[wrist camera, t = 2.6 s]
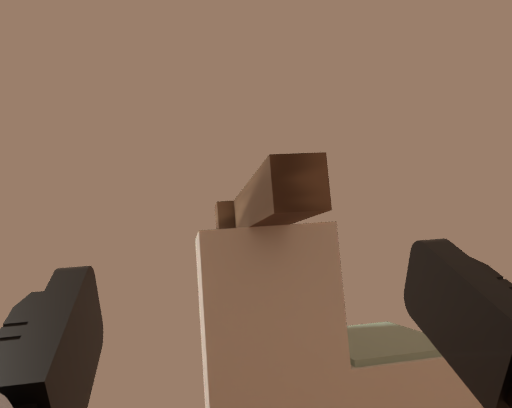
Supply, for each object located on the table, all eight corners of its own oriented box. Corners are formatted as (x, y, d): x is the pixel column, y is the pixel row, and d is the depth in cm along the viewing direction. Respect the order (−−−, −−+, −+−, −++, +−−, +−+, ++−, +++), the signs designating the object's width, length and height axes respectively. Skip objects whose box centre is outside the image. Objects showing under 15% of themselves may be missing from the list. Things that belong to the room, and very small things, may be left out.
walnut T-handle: (244, 215, 21) (239, 155, 21) (217, 236, 40) (215, 205, 41) (359, 208, 22) (353, 151, 22) (278, 232, 41) (275, 202, 42)
